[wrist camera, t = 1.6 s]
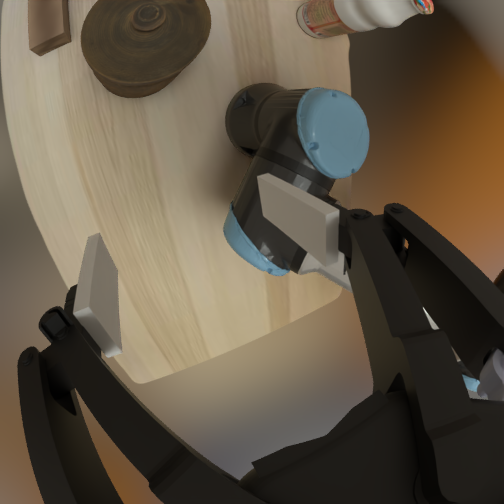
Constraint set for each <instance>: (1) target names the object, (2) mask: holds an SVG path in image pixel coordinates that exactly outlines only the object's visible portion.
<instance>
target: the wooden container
mask: <svg viewBox="0 0 504 504" xmlns="http://www.w3.org/2000/svg"><path fill="white" fill-rule="evenodd" d="M210 29H211V15H210V10H209V7H208V6H207V3H206V1H205V0H98V1H97V2H96V3H95V4H94V6H93V7H92V8H91V10H90V11H89V13H88V15H87V17H86V19H85V21H84V24H83V27H82V31H81V47H82V52H83V55H84V57H85V59H86V61H87V63H88V65H89V66H90V67H91V69H92V70H93V72H94V74H95V76H96V77H97V79H98V80H99V81H100V82H101V83H102V85H103V86H104V87H105V88H106V89H107V90H109V91H110V92H112V93H113V94H116V95H118V96H121V97H126V98H140V97H145V96H148V95H151V94H154V93H156V92H158V91H159V90H161V89H163V88H164V87H165V86H167V85H168V84H169V83H170V82H171V81H172V80H173V79H174V78H175V77H176V76H177V75H178V74H179V73H180V72H181V71H182V70H183V69H184V68H185V67H187V66H188V65H189V64H190V63H191V62H192V61H193V60H194V59H195V58H196V57H197V55H198V54H199V53H200V52H201V50H202V49H203V47H204V45H205V43H206V41H207V39H208V37H209V33H210Z"/></svg>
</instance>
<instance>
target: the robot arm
mask: <svg viewBox="0 0 504 504" xmlns="http://www.w3.org/2000/svg"><path fill="white" fill-rule="evenodd" d="M226 130H227V133H228V136H229V138H230V140H231V142H232V143H233V145H234V146H235V147H236V148H237V149H238V150H239V151H241V152H242V153H244V154H245V155H248V156H250V157H253V160H252V162H251V164H250V166H249V169H248V171H247V173H246V175H245V177H244V179H243V181H242V183H241V185H240V187H239V189H238V192H237V194H236V196H235V198H234V200H233V201H232V202H231V204H230V208H229V209H230V210H229V213H228V215H227V218H226V220H225V223H224V227H223V232H224V235H225V237H226V240H227V242H228V244H229V245H230V246H231V248H232V249H233V250H234V251H235V252H236V253H237V254H238V255H239V256H241V257H242V258H243V259H244V260H246V261H247V262H248V263H250V264H251V265H253V266H254V267H256V268H258V269H260V270H262V271H267V272H268V273H269V274H271V275H275V276H283V275H285V274H286V273H288V272H290V270H291V271H293V272H295V273H297V274H299V275H303V274H307V273H311V272H317V273H319V274H320V275H322V276H324V277H326V278H327V279H329V280H331V281H332V282H334V283H336V284H338V285H339V286H341V287H343V288H345V289H346V290H348V291H350V292H351V293H353V295H354V298H355V302H356V306H357V310H358V314H359V318H360V322H361V325H362V330H363V334H364V338H365V343H366V347H367V352H368V356H369V361H370V366H371V371H372V376H373V382H374V383H373V385H374V386H373V394H372V395H371V396H369V397H368V398H366V399H365V400H364V401H362V402H361V403H359V404H358V405H357V406H355V407H353V408H352V409H351V410H350V411H349V413H347V415H346V416H345V417H344V418H343V419H342V420H341V421H340V422H339V423H338V424H337V425H336V426H335V427H334V428H333V429H332V430H331V431H330V432H329V433H328V434H327V435H325V436H323V437H320V438H317V439H313V440H310V441H306V442H303V443H299V444H296V445H291V446H288V447H285V448H283V449H280V450H279V451H276V452H274V453H272V454H270V455H268V456H265V457H263V458H261V459H259V460H256V461H254V462H252V465H253V466H254V469H252V470H251V471H250V472H248V473H247V474H246V475H245V476H244V477H243V478H242V479H241V480H238V479H236V478H235V477H233V476H232V475H230V474H229V473H227V472H225V471H224V470H222V469H220V468H219V467H218V466H216V465H215V464H213V463H212V462H211V461H209V460H208V459H207V458H205V457H203V455H201V454H200V453H198V452H197V451H196V450H195V449H193V448H192V447H191V446H189V445H188V444H187V443H186V442H185V441H184V440H182V439H181V438H180V437H179V436H177V435H176V434H175V433H174V432H173V431H172V430H171V429H169V428H168V427H167V426H166V425H165V424H164V423H163V422H162V421H161V420H159V419H158V418H157V417H156V416H155V415H154V414H153V413H152V412H151V411H150V410H149V409H148V408H147V407H146V406H145V405H144V404H143V403H142V402H141V401H140V400H139V399H138V398H137V397H136V396H135V395H134V394H133V393H132V392H131V391H130V390H129V389H128V388H127V386H126V385H125V384H124V383H123V382H122V381H121V380H120V379H119V378H118V377H117V375H116V374H115V373H114V372H113V371H112V370H111V368H110V367H109V366H108V365H107V364H106V362H105V361H104V360H103V359H102V358H101V350H102V351H103V353H104V354H105V355H106V356H107V357H112V356H114V355H117V354H120V353H122V343H121V332H120V319H119V301H118V270H117V268H116V266H115V264H114V262H113V260H112V258H111V256H110V254H109V252H108V250H107V248H106V245H105V243H104V241H103V239H102V237H101V235H100V232H99V233H97V234H95V235H92V236H90V237H88V240H87V244H86V248H85V252H84V256H83V261H82V265H81V270H80V275H79V280H78V284H77V285H74V286H72V287H71V288H70V290H69V292H68V293H67V296H66V301H65V302H66V303H65V306H64V310H63V309H62V308H61V307H60V306H59V307H58V306H56V307H53V308H51V309H49V310H48V311H47V312H46V313H45V314H44V315H43V316H42V318H41V319H40V322H39V329H40V331H41V332H42V333H43V334H44V335H45V337H46V338H47V339H48V340H49V341H50V342H51V345H50V346H49V347H47V348H46V349H45V350H43V351H42V352H39V351H38V349H37V348H35V347H29V348H27V349H26V350H24V351H23V352H22V353H21V355H20V357H19V360H18V365H17V366H18V385H19V397H20V406H21V414H22V421H23V427H24V433H25V438H26V443H27V447H28V452H29V456H30V460H31V463H32V467H33V471H34V474H35V477H36V481H37V484H38V487H39V490H40V493H41V495H42V498H43V501H44V503H45V504H124V503H123V502H122V500H121V498H120V497H119V495H118V493H117V491H116V489H115V488H114V486H113V484H112V482H111V480H110V478H109V476H108V474H107V472H106V470H105V468H104V466H103V464H102V462H101V459H100V457H99V455H98V453H97V450H96V448H95V446H94V443H93V441H92V438H91V436H90V434H89V431H88V428H87V425H86V423H85V420H84V417H83V414H82V411H81V408H80V405H79V402H78V399H77V395H76V392H75V388H76V390H77V391H78V393H79V395H80V396H81V398H82V399H83V401H84V402H85V404H86V405H87V407H88V408H89V409H90V411H91V413H92V414H93V416H94V417H95V418H96V420H97V421H98V423H99V424H100V425H101V427H102V428H103V429H104V431H105V432H106V433H107V434H108V436H109V437H110V438H111V439H112V441H113V442H114V443H115V444H116V446H117V447H118V448H119V449H120V450H121V452H122V453H123V454H124V455H125V456H126V457H127V458H128V460H129V461H130V462H131V463H132V464H133V465H134V466H135V467H136V468H137V469H138V470H139V471H140V472H141V474H142V475H143V476H144V477H145V478H146V479H147V480H148V482H149V488H150V489H151V491H152V492H153V493H154V494H155V495H156V497H158V498H159V499H160V500H161V501H162V502H163V503H164V504H504V269H503V270H502V271H501V272H500V273H499V275H498V276H497V278H496V279H495V281H494V282H492V281H491V280H490V279H489V278H488V277H487V276H486V275H485V274H484V273H483V272H482V271H481V270H480V269H479V268H478V267H477V266H476V265H474V264H473V263H472V262H471V261H470V260H469V259H468V258H467V257H466V256H465V255H464V254H463V253H462V252H461V251H460V250H458V249H457V248H456V247H455V246H454V245H453V244H452V243H451V242H449V241H448V240H447V239H446V238H445V237H444V236H442V235H441V234H440V233H439V232H437V231H436V230H435V229H434V228H433V227H432V226H430V225H429V224H428V223H427V222H425V221H424V220H423V219H422V218H420V217H419V216H418V215H416V214H415V213H414V212H412V211H411V210H410V209H408V208H407V207H405V206H404V205H401V204H399V203H397V204H396V203H392V204H387V205H386V206H385V207H384V214H382V215H375V216H373V214H372V213H371V212H369V211H367V210H363V209H352V210H347V209H346V208H344V207H342V206H341V204H340V202H339V201H337V200H336V199H334V198H332V197H330V196H329V195H328V194H329V192H330V190H331V188H332V186H333V184H334V182H335V180H336V179H338V178H339V179H340V178H346V177H349V176H350V175H351V173H355V172H357V170H358V169H359V168H360V167H361V166H362V164H363V162H364V160H365V158H366V156H367V152H368V148H369V129H368V127H367V120H366V117H365V115H364V113H363V111H362V109H361V107H360V106H359V105H358V103H357V102H356V101H355V100H354V99H353V98H352V97H350V96H349V95H347V94H346V93H344V92H341V91H338V90H332V89H324V88H320V87H319V88H318V87H317V88H313V89H295V90H287V89H285V88H283V87H281V86H279V85H276V84H272V83H259V84H254V85H250V86H248V87H246V88H244V89H242V90H241V91H240V92H238V93H237V94H236V95H235V96H234V98H233V99H232V101H231V102H230V104H229V106H228V109H227V113H226ZM405 239H406V240H407V241H408V244H409V245H408V249H407V248H406V247H405V246H404V244H405ZM467 389H469V390H472V391H475V392H477V393H478V395H479V396H480V397H483V398H484V397H488V400H483V399H472V398H470V397H469V394H468V391H467Z"/></svg>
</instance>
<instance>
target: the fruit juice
mask: <svg viewBox="0 0 504 504" xmlns="http://www.w3.org/2000/svg"><path fill="white" fill-rule="evenodd" d="M433 9H434V8H433V3H432V0H312V1H309V2H307V3H305V4H303V5H302V6H301V7H300V8H299V9H298V12H297V19H298V23H299V25H300V26H301V28H302V29H303V30H304V31H305V32H306V33H307V34H309V35H310V36H312V37H315V38H327V37H332V36H337V35H343V34H348V33H355V32H362V31H368V30H372V29H375V28H377V27H378V26H380V27H387V28H391V27H396V26H398V25H400V24H401V23H402V22H403V21H404V20H406V19H408V18H409V17H411V16H413V15H415V14H417V13H422V14H431V13H432V12H433Z"/></svg>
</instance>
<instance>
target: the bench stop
mask: <svg viewBox="0 0 504 504" xmlns="http://www.w3.org/2000/svg"><path fill="white" fill-rule="evenodd" d="M28 33H29V48H30V50H31V51H33V52H34V53H36V54H37V55H39V56H42V55H44V54H46V53H48V52H50V51H52V50H54V49H56V48H58V47H60V46H62V45H65V44H67V43H69V42H71V35H70V25H69V13H68V0H28Z"/></svg>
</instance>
